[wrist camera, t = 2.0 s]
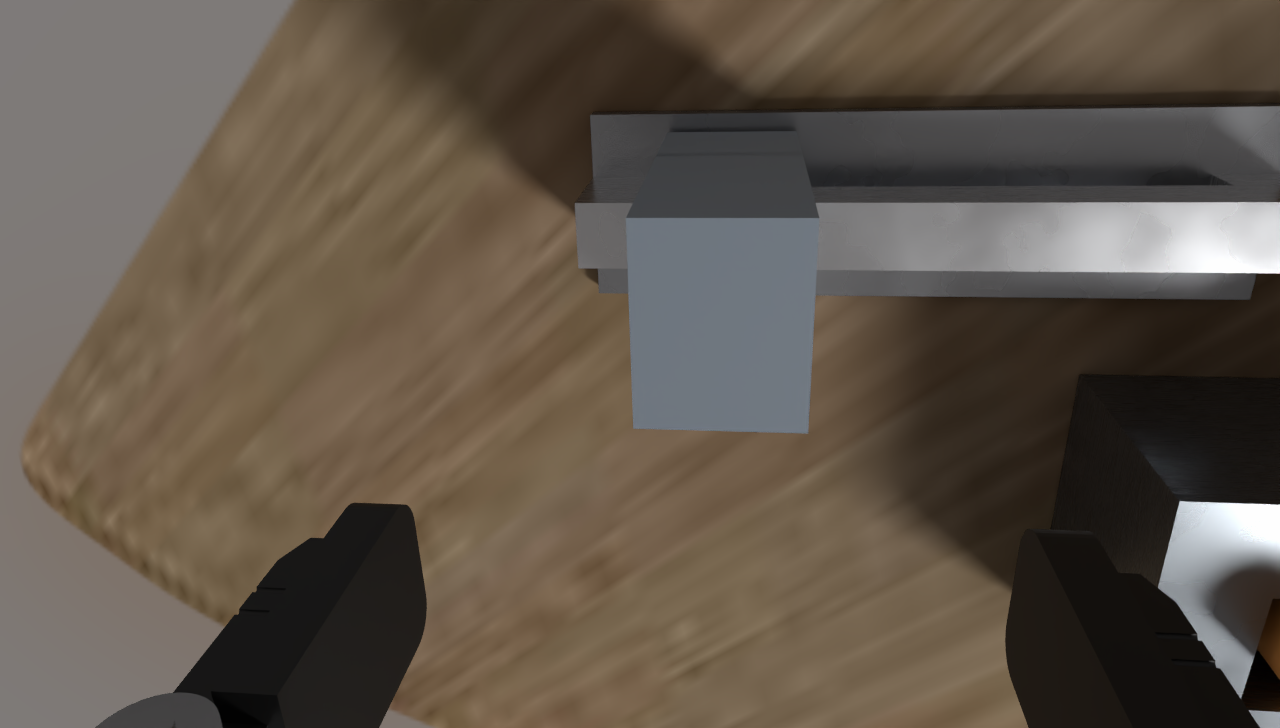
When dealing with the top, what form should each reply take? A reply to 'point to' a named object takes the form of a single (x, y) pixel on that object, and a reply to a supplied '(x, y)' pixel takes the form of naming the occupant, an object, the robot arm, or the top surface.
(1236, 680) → the block with square hole
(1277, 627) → the orange peg
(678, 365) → the block
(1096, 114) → the rail
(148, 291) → the top surface
